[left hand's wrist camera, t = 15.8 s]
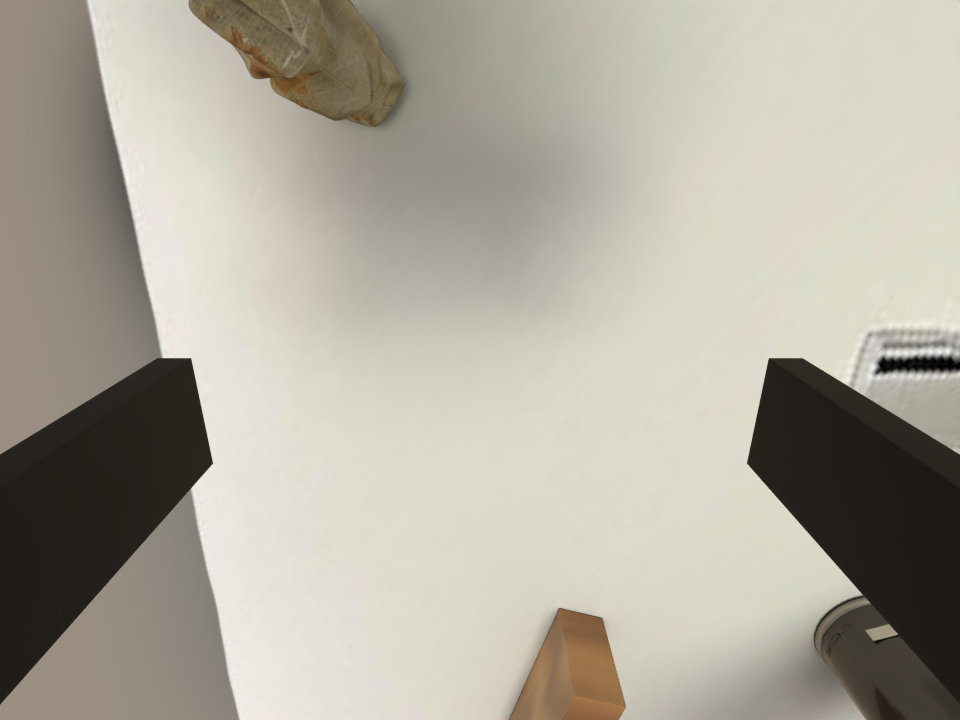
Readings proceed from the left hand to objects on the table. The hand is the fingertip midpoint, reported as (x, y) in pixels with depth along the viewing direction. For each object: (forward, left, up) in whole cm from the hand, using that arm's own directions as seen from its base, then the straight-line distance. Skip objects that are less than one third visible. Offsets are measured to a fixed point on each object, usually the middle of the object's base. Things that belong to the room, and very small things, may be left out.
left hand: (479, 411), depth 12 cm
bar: (+49, +6, -28) cm, 57 cm away
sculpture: (-11, -8, -28) cm, 32 cm away
